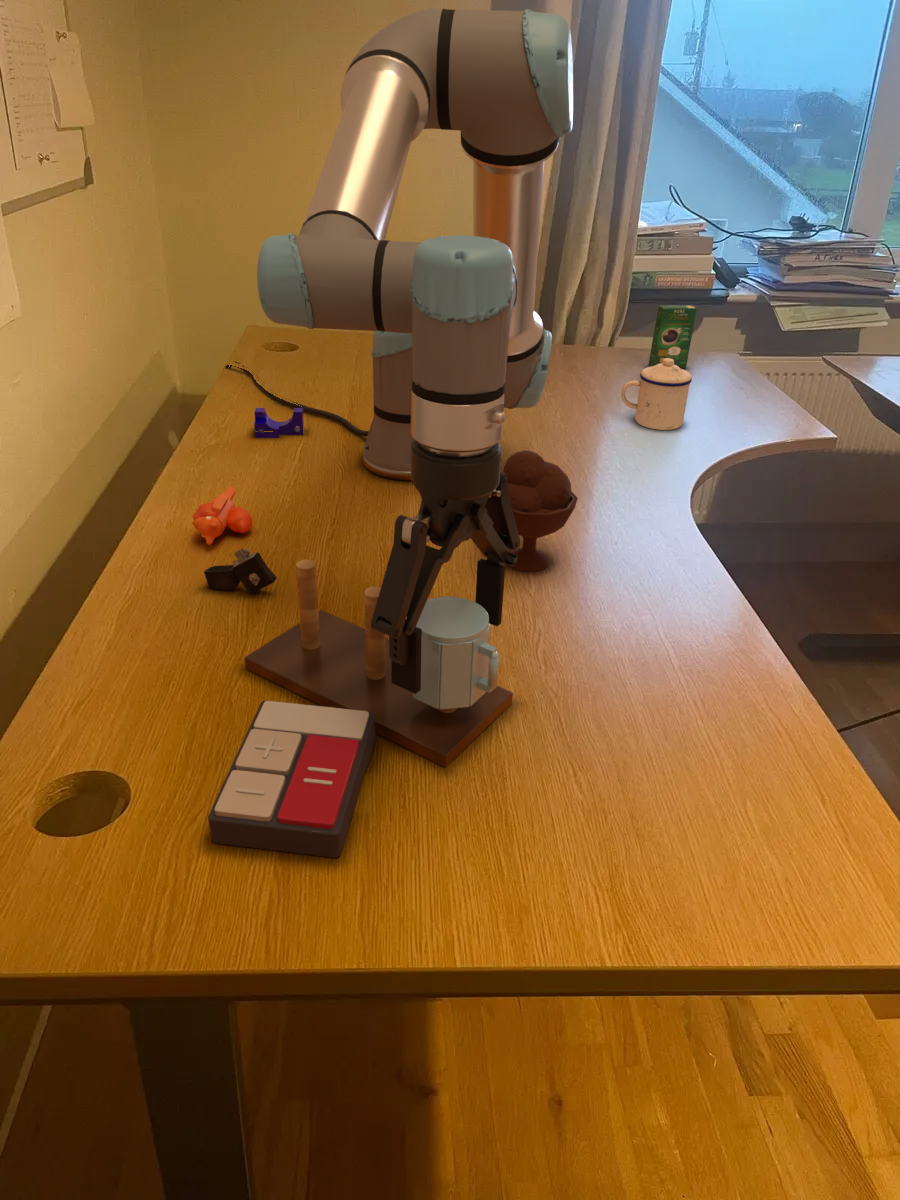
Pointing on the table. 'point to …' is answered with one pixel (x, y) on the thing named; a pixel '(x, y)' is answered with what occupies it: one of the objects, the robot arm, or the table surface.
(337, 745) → the calculator
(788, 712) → the table surface
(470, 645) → the blue cup
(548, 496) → the ice cream bowl
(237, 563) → the lighter
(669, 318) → the coffee box
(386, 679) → the peg rack
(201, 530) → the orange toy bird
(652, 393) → the teacup with lid
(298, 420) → the cable holder
